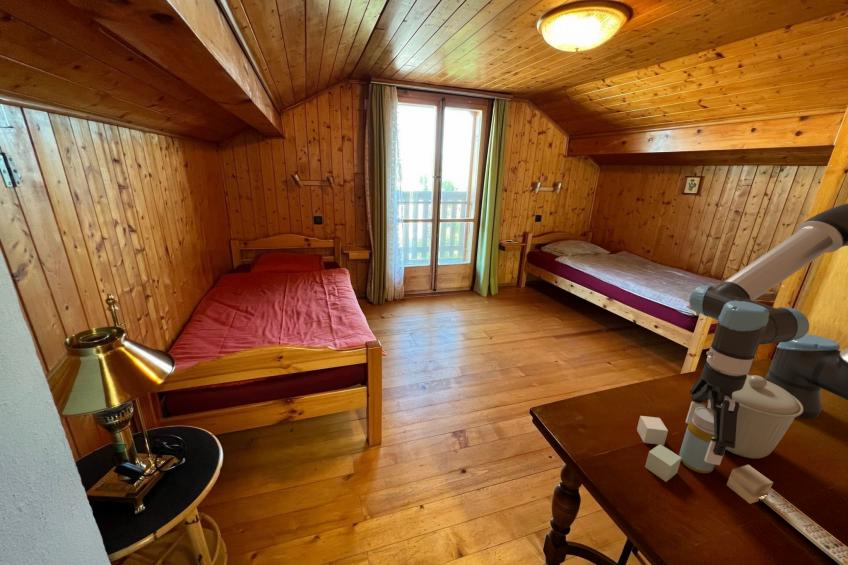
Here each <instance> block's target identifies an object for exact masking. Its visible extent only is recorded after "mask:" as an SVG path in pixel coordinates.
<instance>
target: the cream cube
mask: <svg viewBox="0 0 848 565" xmlns="http://www.w3.org/2000/svg"><path fill="white" fill-rule="evenodd" d="M636 430H637V431H636V432H637V433H638V434H639V436H640V438H641V440H642V442H643V444H650V445H657V446H658V445H659V444H661V445H662V446H665V444H666V443H665V442H666V439H667V435H668V432H669V430H668V429H667V427H666V426H665V424H664V422H663V420H662V419H661V417H654V416H646V415H645V416H644V415H640V416H639V420H638V424H637V427H636Z"/></svg>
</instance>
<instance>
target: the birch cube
mask: <svg viewBox="0 0 848 565" xmlns="http://www.w3.org/2000/svg"><path fill="white" fill-rule="evenodd" d="M773 484H774V482H773V481H772V480H770V479H769V478H768V477H766V476H765V475H763V473H760V472H759V471H758V470H756V469H755V468H754V467H752V466H751V465H750V464H746V465H742V466H738V467H734V468H732V470H731V473H730V475H729V477H728V480H727V483H726V486H727V487H728V488H729V489H730V490H732V491H733V492H735V493H736V495H738V496H739V497H741V498H742V499H743V500H745V501H746V502H747V503H748V504H753V503H757V502H760V501H759V497H761V496H764V495H767V496H768V495H769V493H770V491H771V487H772V486H773Z"/></svg>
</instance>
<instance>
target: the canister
mask: <svg viewBox="0 0 848 565" xmlns="http://www.w3.org/2000/svg"><path fill="white" fill-rule="evenodd" d="M746 375H747V378H746V381H745V384H744V386H743V389H741V390H739V391H735V392H733V393H732V401H733V402H738V403H739V409H738V413H737V426H736V441H735V448H730V447H726V449H725V451H727V452H731V453H732V454H734V455H736V456H740V457H744V458H748V459H754V460H755V459H762V458H766V457H768V456H769V455H770V454H772V452H773V451H774V450H775V448H776V447H777V445H779V443H780V441H781V440H782V439H783V437H784V436H785V434H786V433H787V431H788V429H789V428H790V426H791V425H792V423H793V421H794V420H795V419H796V418H798V417H797V416H799V415H801V414H802V413H803V406H802V404H801V403H800V402H799V400H797V399H796V398H795V397H794V396H793V395H791V394H790V393H789V392H787V391H786V390H784V389H783V388H781V387H779V386H778V385H776V384H773V383H771V382H769V381H766V380H765V379H764V377H763V376H760V375H754V374H753V375H751V374H750V375H749V374H746ZM717 407H721V406H717ZM707 408H710V409H711V402H710V400H707ZM721 408H722V407H721Z"/></svg>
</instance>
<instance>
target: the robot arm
mask: <svg viewBox="0 0 848 565" xmlns="http://www.w3.org/2000/svg"><path fill="white" fill-rule="evenodd" d="M842 247H848V203H847V202H846V203H843V204H841V205H837V206H835V207H834V206H833V207H831V208H829V209H826V210H824V211H822V212H820V213H817V214H816V215H814V216H812V217H810V218H807V219H806V220H805V221H803V222H802V223H801V224H799V225H798V226H797V228H796V230H795V233H793V234H792V235H790V236H789V237H788V238H786V239H785V240H783V241H781V242H780V243H778V244H777V245H775V246H774V247H773V248H771V249H770V250H769V251H767V252H766V253H764V254H762V255H760V257H758V258H756V259H755V260H754V261H752V262H750V263H749V264H748V265H746V266H745V267H743V268H742V269H740V270H739V271H737V272H736V273H734V274H733V275H731V276H730V277H729V278H727V279H725V280H724V281H722V282H721V283H719V284H717V285H716V286H712V285H708V284H703V285H699V286H698V287H697V286H696V288H695V289H693V291H692V292H691V294H690V296H689V298H688V301H689V306H690V308H691V309H692V310H693V311H695V312H697V313H699V314H701V315H703V316H704V317H708V318H710V319H714V320H715V321H717V324H716V328H715V331H714V335H713V339H712V341H711V345H710V347H709V350H708V351H706V356H707V358H706V362H704V366H703V368H702V371H701V373H700V376H699V378H698V379H697V381H696V382H695V383H693V384H694V385H692V387H691V388H690V390H689V394H690V395H691V397H690V398H691V400H692V401H691V402H690V406H689V410H688V412H687V416H686V419H685V423H686V424H687V425H688V424H689V422H690V421H691V420H692V418H693V414H694V411H695V409H696V408H698V407H706V404H707V403H708V401H709V400H710V402H711V409H712V410H713V411H714V435H715V438H713V437H712V438H711V442H710V444H709V447H708V450H707V453H706V456H705V459H704V460H705V462H707V463H711V464H715V466H716V465H717V466H720V465H721V463H722V461H723V457H724V455H725V451H726V447H730V448H735V441H736V426H737V413H738V409H739V403H738V402H733V401H732V393H733V392H735V391H739V390H741V389H743V386H744V384H745V381H746V378H747V375H749V373H750V370H751V367H752V365H753V362H754V359H755V355H756V353H757V351H758V348H759V346H760V345H767V344H778V345H776V350H775V353H774V355H773V359H772V361H771V364H770V367H769V370H768V372H767V374H766V375H765V376H764V377H763V378H764V379H765V380H766V381H769V382H771V383H773V384H776V385H778V386H779V387H781V388H783V389H784V390H786V391H787V392H789V393H790V394H791V395H793V396H794V397H795V398H796V399H797V400H799V402H800V403H801V404H802V406H803V413H802V414H801V415H799V416H797V417H796V418H800V419H816V418H819V417H820V414H821V412H822V410H823V408H822V407H823V406H822V401H821V398H822V397H821V390H825V391H827V392H829V393H832V394H833V395H836V396H837V397H840V398H842V399H844V400H846V401H848V347H847V348H843V349H842V350H840V349H841V346H840V343H838V342H837V341H836V340H833V339H830V338H828V337H822V336H821V335H820V336H819V335H813V334H808V332H809V329H810V322H809V320H808V317H807V316H806V315H805V314H804V313H803V312H801V311H800V310H798V309H795V308H792V307H781V306H779V307H774V306H769V305H766V304H765V303H762V302H761V303H760V302H759V301H755V300H757V299H759V298H760V297H761V296H762V295H764V294H765V293H768V292H769V291H770V290H772V289H773V288H774V287H776V286H778V285H779V284H780V283H782V282H784V281H785V280H786V279H788V278H790V277H791V276H792V275H794V274H795V273H797V272H798V271H800V270H802V269H803V268H805V267H806V266H808V265H809V264H811V263H812V262H813V261H815V260H817V259H818V258H819V257H821V256H822V255H824V254H825V253H826V254H828V253H834V252H836V251H838V250H839V249H841V248H842ZM746 374H747V375H746ZM717 406H721V407H722V408H721V407H717Z"/></svg>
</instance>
